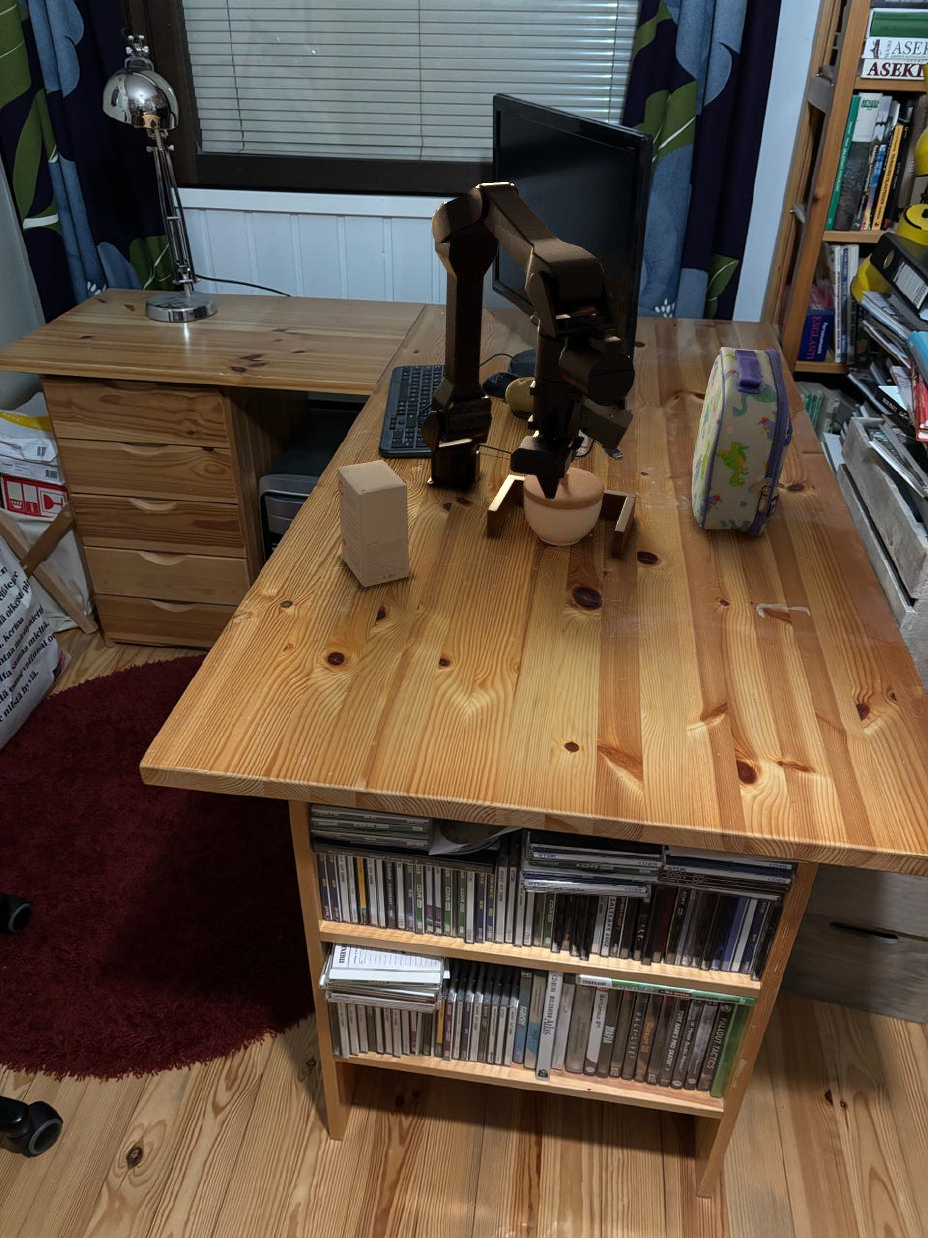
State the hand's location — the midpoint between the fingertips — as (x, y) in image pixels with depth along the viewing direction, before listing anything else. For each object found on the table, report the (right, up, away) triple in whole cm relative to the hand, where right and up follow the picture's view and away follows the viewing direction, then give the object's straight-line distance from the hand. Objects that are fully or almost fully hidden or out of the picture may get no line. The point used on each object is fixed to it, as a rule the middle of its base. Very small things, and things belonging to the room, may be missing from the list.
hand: (550, 497), depth 114 cm
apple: (+1, +22, +50) cm, 54 cm away
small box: (-22, -8, +6) cm, 24 cm away
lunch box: (+28, +2, +23) cm, 36 cm away
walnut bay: (+3, -2, +16) cm, 16 cm away
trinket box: (+3, -3, +14) cm, 15 cm away
